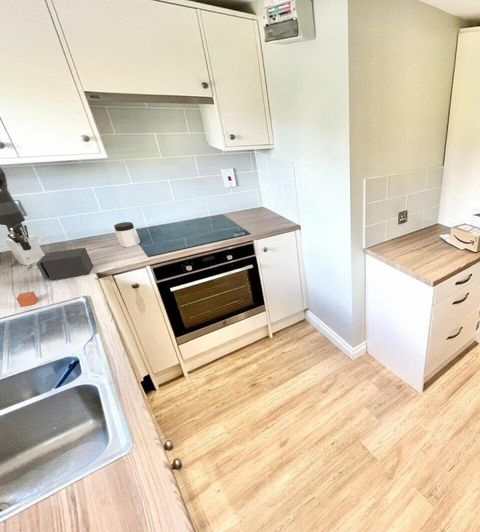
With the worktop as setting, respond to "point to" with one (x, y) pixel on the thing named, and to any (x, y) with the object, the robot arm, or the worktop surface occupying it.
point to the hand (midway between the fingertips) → (27, 249)
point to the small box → (28, 255)
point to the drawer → (40, 267)
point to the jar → (126, 234)
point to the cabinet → (67, 263)
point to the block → (27, 298)
